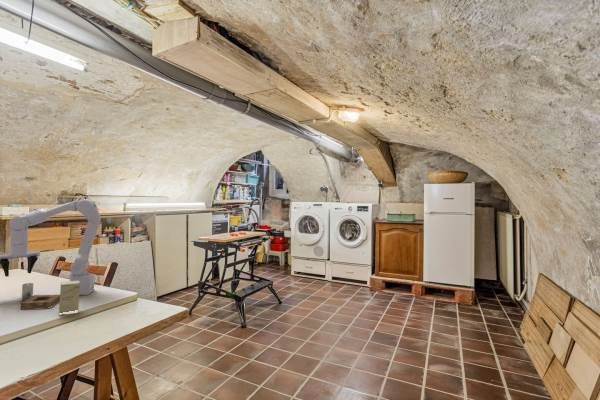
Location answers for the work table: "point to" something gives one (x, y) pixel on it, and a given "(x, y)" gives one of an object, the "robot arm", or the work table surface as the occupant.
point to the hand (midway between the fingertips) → (18, 274)
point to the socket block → (40, 301)
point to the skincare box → (69, 296)
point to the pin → (27, 291)
